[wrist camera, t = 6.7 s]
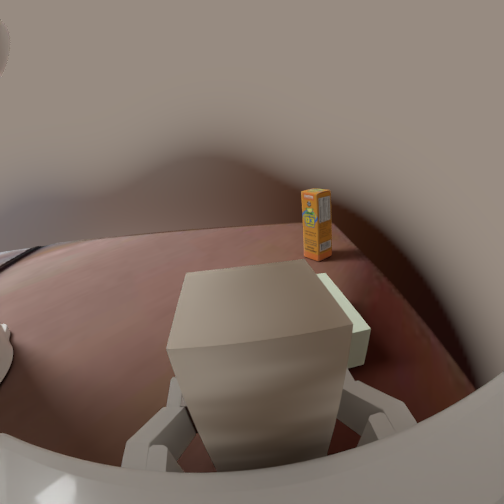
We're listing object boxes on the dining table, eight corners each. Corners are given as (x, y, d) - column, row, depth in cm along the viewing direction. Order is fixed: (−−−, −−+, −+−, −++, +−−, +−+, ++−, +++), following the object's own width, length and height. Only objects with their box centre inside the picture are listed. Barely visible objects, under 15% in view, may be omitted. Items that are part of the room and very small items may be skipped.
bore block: (247, 387, 18) (242, 351, 17) (239, 315, 27) (235, 284, 26) (363, 364, 19) (370, 328, 17) (324, 303, 28) (325, 273, 27)
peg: (240, 512, 9) (165, 349, 5) (235, 460, 12) (186, 272, 8) (311, 502, 9) (353, 324, 5) (297, 452, 12) (304, 258, 8)
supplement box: (301, 257, 41) (299, 190, 38) (316, 251, 43) (315, 187, 39) (317, 263, 38) (316, 192, 35) (333, 256, 40) (332, 189, 37)
